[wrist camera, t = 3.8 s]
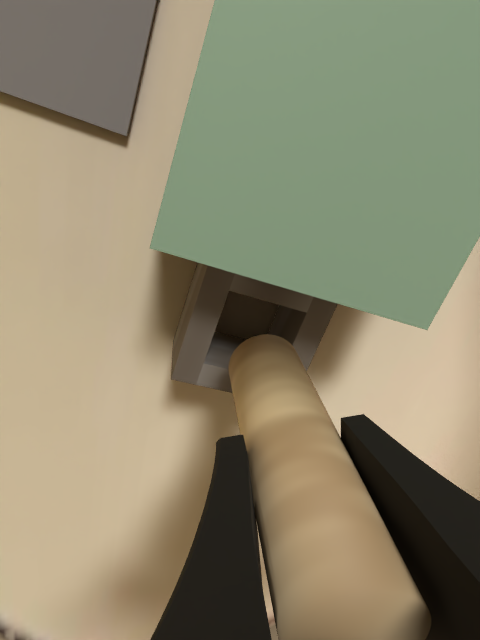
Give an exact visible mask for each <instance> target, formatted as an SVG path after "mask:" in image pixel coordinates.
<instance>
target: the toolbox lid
mask: <svg viewBox="0 0 480 640" xmlns="http://www.w3.org/2000/svg"><path fill="white" fill-rule="evenodd" d="M479 237H480V0H215V1H214V5H213V9H212V13H211V17H210V20H209V24H208V28H207V32H206V36H205V39H204V43H203V47H202V51H201V55H200V58H199V62H198V66H197V70H196V74H195V77H194V81H193V85H192V89H191V93H190V97H189V100H188V104H187V108H186V112H185V116H184V119H183V123H182V127H181V131H180V135H179V138H178V142H177V146H176V150H175V154H174V157H173V161H172V165H171V169H170V173H169V176H168V180H167V184H166V188H165V192H164V195H163V199H162V203H161V207H160V211H159V214H158V218H157V222H156V226H155V230H154V233H153V237H152V241H151V245H150V248H151V249H154V250H157V251H161V252H164V253H168V254H171V255H174V256H178V257H181V258H185V259H188V260H191V261H195V262H198V263H201V264H205V265H208V266H212V267H215V268H218V269H222V270H225V271H229V272H232V273H235V274H239V275H242V276H246V277H249V278H252V279H256V280H259V281H262V282H266V283H269V284H273V285H276V286H279V287H283V288H286V289H290V290H293V291H296V292H300V293H303V294H307V295H310V296H313V297H317V298H320V299H324V300H327V301H330V302H334V303H337V304H340V305H344V306H347V307H351V308H354V309H357V310H361V311H364V312H368V313H371V314H374V315H378V316H381V317H385V318H388V319H391V320H395V321H398V322H401V323H405V324H408V325H412V326H415V327H418V328H422V329H425V330H428V328H429V326H430V324H431V322H432V321H433V319H434V317H435V315H436V313H437V312H438V310H439V308H440V306H441V305H442V303H443V301H444V299H445V297H446V296H447V294H448V292H449V290H450V289H451V287H452V285H453V283H454V281H455V280H456V278H457V276H458V274H459V272H460V271H461V269H462V267H463V265H464V264H465V262H466V260H467V258H468V256H469V255H470V253H471V251H472V249H473V248H474V246H475V244H476V242H477V240H478V239H479Z"/></svg>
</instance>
